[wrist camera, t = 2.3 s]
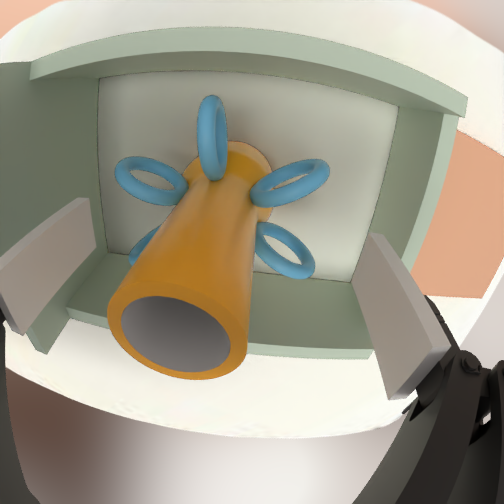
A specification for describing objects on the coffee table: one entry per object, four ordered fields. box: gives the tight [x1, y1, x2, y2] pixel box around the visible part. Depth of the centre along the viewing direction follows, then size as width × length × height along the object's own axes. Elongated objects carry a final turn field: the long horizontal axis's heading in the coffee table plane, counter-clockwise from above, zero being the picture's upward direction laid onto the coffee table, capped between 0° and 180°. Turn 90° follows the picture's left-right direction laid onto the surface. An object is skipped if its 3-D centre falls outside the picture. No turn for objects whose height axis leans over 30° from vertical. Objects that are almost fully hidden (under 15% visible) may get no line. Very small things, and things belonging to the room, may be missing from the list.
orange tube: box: [107, 95, 330, 380], centre depth 13 cm, size 12×10×15 cm
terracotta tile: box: [410, 130, 504, 298], centre depth 20 cm, size 16×16×1 cm
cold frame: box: [0, 27, 468, 359], centre depth 15 cm, size 25×18×12 cm
